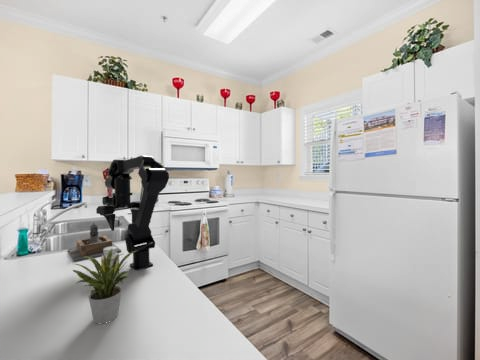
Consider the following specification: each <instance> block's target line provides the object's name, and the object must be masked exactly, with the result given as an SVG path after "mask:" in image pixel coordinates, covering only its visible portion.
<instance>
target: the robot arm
mask: <svg viewBox="0 0 480 360" xmlns="http://www.w3.org/2000/svg"><path fill="white" fill-rule="evenodd" d="M135 170H138V172H137V174H138V176H139V177H140V183H141V185H142V188H143V193H142V196H141V199H140V200H139V201H137V200H136V201H131V196H133V192H131V180H132V179H133V177H132V176H131V175H130V174H132V173H134V172H135ZM169 179H170V175H169V172H168V171H167V169H166V168H165V166H164V165H162V164H161V163H160V162H158V161H157V160H156V159H155V158H154V157H153V156H152V155H139V156H136V157H132V158H130V159H113V160H112V162H111V163H110V166H109V167H108V170H107V178H106V179H105V181H104V186H105V187H106V188H107V189H110V190H114V192H113V193H112V197H110V196H103V197H102V200H101V201H102V205H98V206H97V208H96V209H95V210H96V214H98V215H100V216H103V217H104V218H105V220H106V221H107V223H108V226H109V228H110V230H111V232H112V231H115V229H116V227H115V226H116V213H115V212H116V211H122V210H123V211H124V210H127V209H128V210H130V213H131V223H129V224H128V225H127V230H126V234H125V237H124V240H125V241H124V242H125V246H126V250H127V253H128V254H129V253H131V252H133V251H136V252H134V253H132V263H129V266H130V267H131V268H133V269H134V270H135V271H137V270H140V269H145V268H148V267H152V266H153V265H154V263H153V262H151V260H150V249H154V248H156V247H155V246H156V241H155V239H154V237H153V235H152V230H151V229H150V223H151V220H152V217H153V213H154V210H155V207H156V203H157V199H158V196H159V194H160V193H161V192H162V191H163V190H164V189H165V188H166V186H167V184H168V182H169ZM137 250H138V251H137Z"/></svg>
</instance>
